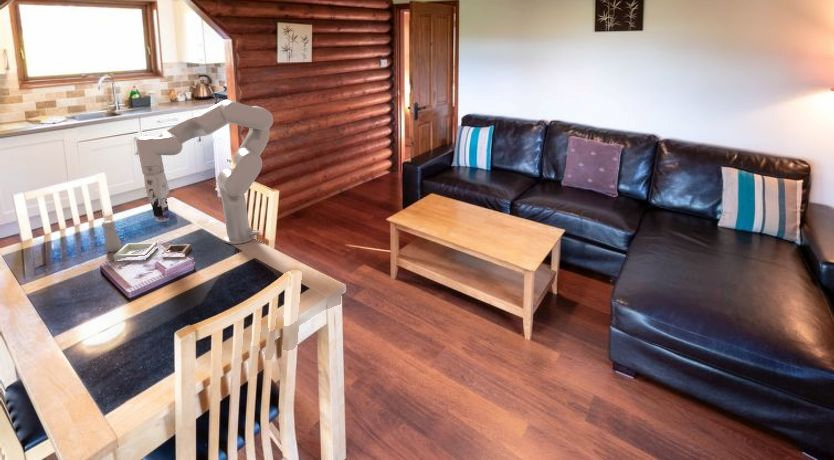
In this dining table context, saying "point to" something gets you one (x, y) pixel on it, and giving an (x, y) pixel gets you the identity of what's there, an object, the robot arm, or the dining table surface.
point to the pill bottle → (164, 210)
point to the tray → (132, 248)
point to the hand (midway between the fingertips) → (161, 212)
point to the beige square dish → (178, 248)
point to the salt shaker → (111, 237)
